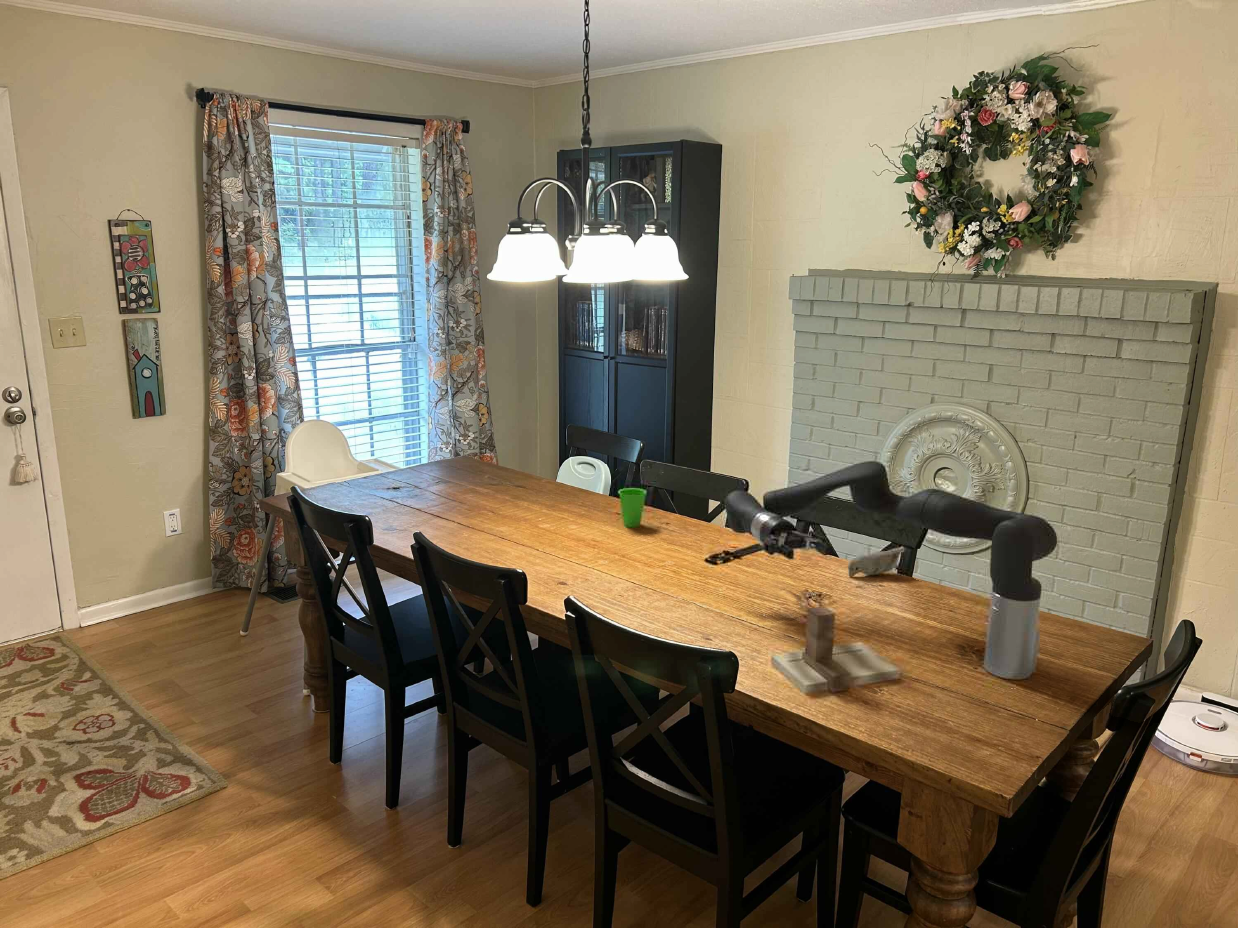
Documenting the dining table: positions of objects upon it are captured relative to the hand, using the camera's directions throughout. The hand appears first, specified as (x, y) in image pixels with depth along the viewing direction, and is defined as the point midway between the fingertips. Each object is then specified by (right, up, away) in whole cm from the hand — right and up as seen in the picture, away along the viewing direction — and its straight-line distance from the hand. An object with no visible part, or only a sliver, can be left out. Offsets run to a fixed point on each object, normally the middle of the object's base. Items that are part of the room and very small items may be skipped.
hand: (809, 553), depth 196 cm
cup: (-37, 0, +92) cm, 100 cm away
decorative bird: (+28, -11, +51) cm, 59 cm away
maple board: (+4, -24, -6) cm, 25 cm away
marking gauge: (+1, -24, -10) cm, 26 cm away
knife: (-7, -7, +67) cm, 68 cm away
